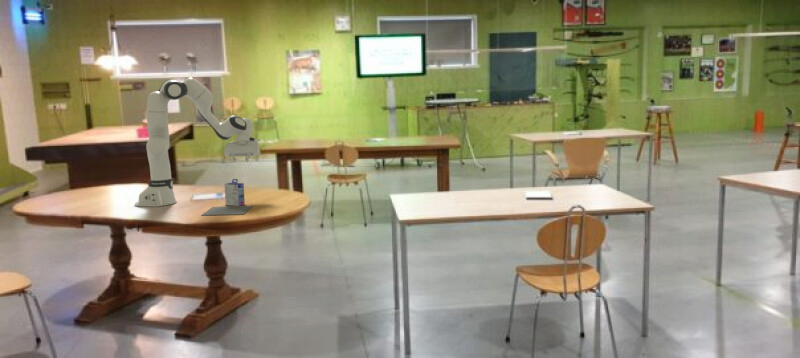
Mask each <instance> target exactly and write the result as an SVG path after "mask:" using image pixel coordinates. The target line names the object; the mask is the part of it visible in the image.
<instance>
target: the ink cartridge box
mask: <svg viewBox="0 0 800 358" xmlns="http://www.w3.org/2000/svg"><path fill="white" fill-rule="evenodd" d="M238 180H239V179H238V178H232V180H231V182H226V183H224V199H225V201H224V202H225V206H246V205H245V204H246V202H245V186H244V185H245V184H244V183H243V182H238Z"/></svg>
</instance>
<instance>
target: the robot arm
mask: <svg viewBox="0 0 800 358" xmlns="http://www.w3.org/2000/svg"><path fill="white" fill-rule="evenodd" d="M183 97H187V98H188V99H189V100H191V101H192V103H194V104H195V106H196V108H197V112H198V113H199V115H200V116H201V117H202V118H203V120H205V122H206V123H207V124H208V125H209V126H210V127H211V129H212V130H213V131H214V133H215V134H216V136H217V137H218V138H219V139H221V140H223V141H225V140H226V141H227V140H229V139H230V138H232V136H234V135H236V138H235V141H234V142H233V141H232V142H228V143H225V146H224V147H225V148H224V150H223V151H224V152H223V153H224V156H225V157H231V159H232V162H236V161H237V158H236V157H245V158H244V159H245V162H249V160H250V159H251V158H252V157H254V156H255V157H256V156H257V157H258V156H259V155H260V146H259V145H260V144H259V141H258V138H256V137H253V133H254V125H253V124H254V123H253V120H251V119H250V118H247V117H243V118H242V117H240V116H238V115H233V114H232V115H230V116H229V117H228V118H227V119H225V120H224V121H222V122H220V120H219V119H218V118H217V117H216V116H215V115H214V114H213V113H212V111H211V110H212V109H211V107H212V106H213V103H214V96H213V93H212V91H210V90H209V88H207V87H206V86H205V85H204V84H203V83H201V82H200V81H198V80H197V79H195V78H193V77H188V78H186V79H184V80H183V81H180V80H179V81H178V80H177V79H176V80H175V79H168V80H165V81H164V82H162V84H161V85H160V87H159V89H158V90H157V91H152V92H150V93H148V96H147V101H146V121H147V122H146V125H147V132H148V141H147V142H146V145H145V147H146V154H147V160H148V163H149V164H148V165H149V172H150V173H149V175H150V179H149V180H148V181H147V182H146V184H147V185H148V186H147V187H145V189H144V190H142V191H141V192H140V193H139V195H138V201H137V202H135V203H134V207H163V206H167V205H168V206H169V205H174V204H176V203H177V200H176V197H175V194H174V193H175V192H174V181H173V178H172V171H171V163H170V158H169V149H170V146H171V145H170V130H169V115H168V114H169V112H168V110H169V109H168V106H169V105H168V104H169V102H170V101H171V100H172V101H176V100H180V99H181V98H183Z"/></svg>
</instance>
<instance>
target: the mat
mask: <svg viewBox="0 0 800 358" xmlns="http://www.w3.org/2000/svg"><path fill="white" fill-rule="evenodd" d="M252 208H253V205H241V206H233V205H225V206H212V207H211V208H209V209H208V210H207V211H204V213H202V214H201V217H203V216H205V217H206V216H207V217H208V216H243V215H245V214H246V213H247V212H249V210H251V209H252Z"/></svg>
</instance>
